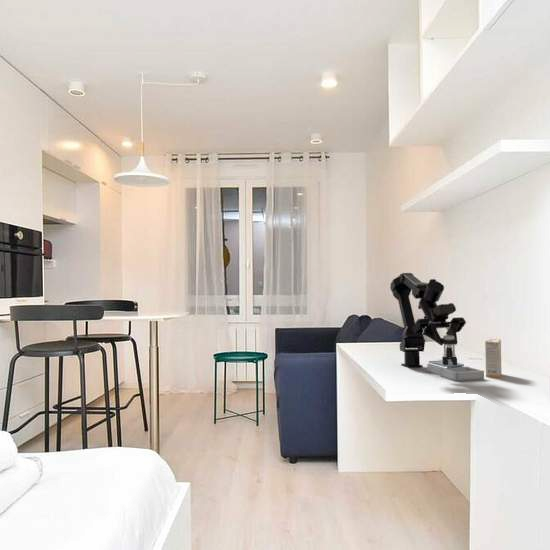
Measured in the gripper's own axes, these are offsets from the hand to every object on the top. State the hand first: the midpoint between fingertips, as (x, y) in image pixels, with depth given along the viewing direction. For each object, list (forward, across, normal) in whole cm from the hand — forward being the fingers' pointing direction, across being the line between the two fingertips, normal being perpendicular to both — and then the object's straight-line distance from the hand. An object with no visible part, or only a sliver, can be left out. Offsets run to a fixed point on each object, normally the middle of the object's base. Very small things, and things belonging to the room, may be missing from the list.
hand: (449, 344), depth 160 cm
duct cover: (-2, +7, +16) cm, 18 cm away
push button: (+5, 0, +6) cm, 7 cm away
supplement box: (+6, +22, +12) cm, 26 cm away
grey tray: (+3, +7, +15) cm, 17 cm away
